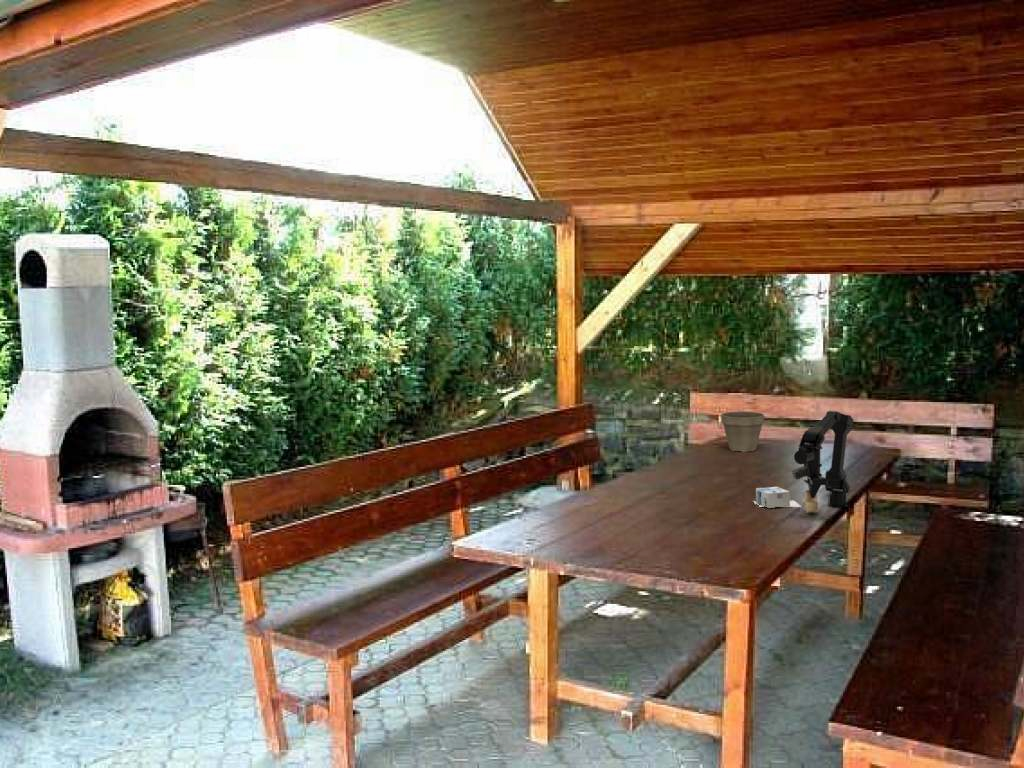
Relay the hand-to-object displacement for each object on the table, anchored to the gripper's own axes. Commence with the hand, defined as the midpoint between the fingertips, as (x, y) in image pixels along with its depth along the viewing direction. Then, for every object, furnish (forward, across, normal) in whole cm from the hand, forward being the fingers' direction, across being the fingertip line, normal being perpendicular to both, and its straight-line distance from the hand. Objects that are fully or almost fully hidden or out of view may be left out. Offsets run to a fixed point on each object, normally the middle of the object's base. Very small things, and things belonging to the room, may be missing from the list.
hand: (812, 498), depth 375 cm
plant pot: (+8, -160, +10) cm, 160 cm away
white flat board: (+7, -19, -10) cm, 22 cm away
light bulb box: (+3, -12, -10) cm, 16 cm away
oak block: (+6, 0, 0) cm, 6 cm away
